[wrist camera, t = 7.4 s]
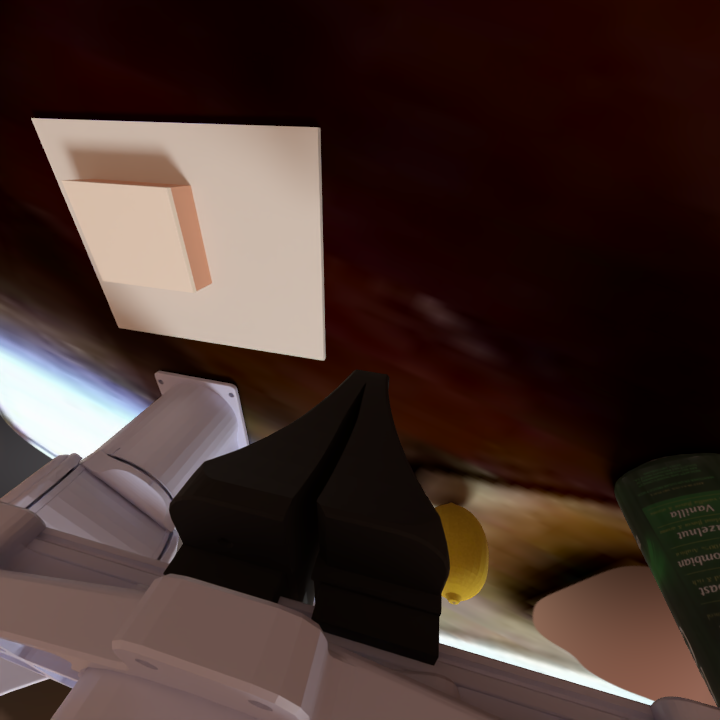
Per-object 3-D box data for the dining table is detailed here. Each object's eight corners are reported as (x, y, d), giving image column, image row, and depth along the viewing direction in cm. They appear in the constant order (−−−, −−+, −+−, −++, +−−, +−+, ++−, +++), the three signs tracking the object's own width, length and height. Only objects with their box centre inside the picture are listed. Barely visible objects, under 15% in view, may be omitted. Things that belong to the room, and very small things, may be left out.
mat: (325, 357, 24) (323, 360, 23) (122, 325, 27) (118, 327, 26) (320, 127, 16) (317, 127, 16) (38, 119, 19) (30, 118, 19)
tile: (193, 293, 20) (102, 280, 22) (212, 283, 22) (126, 272, 23) (166, 187, 17) (61, 180, 18) (190, 185, 19) (93, 178, 20)
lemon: (467, 528, 31) (473, 628, 24) (413, 509, 31) (404, 602, 24) (494, 498, 28) (510, 603, 21) (434, 476, 28) (431, 573, 21)
